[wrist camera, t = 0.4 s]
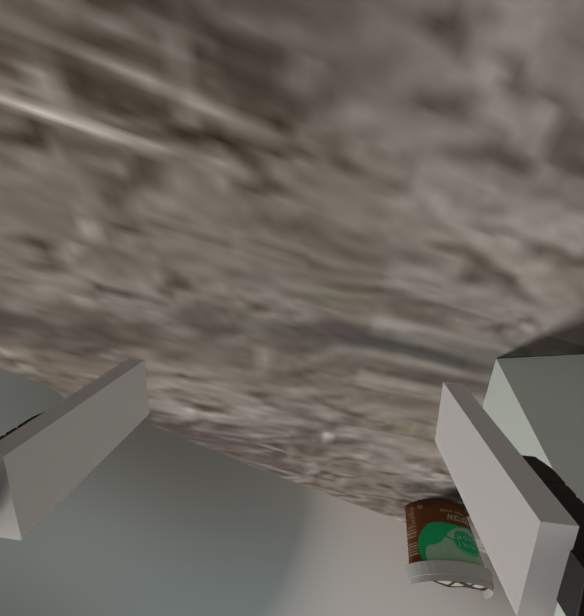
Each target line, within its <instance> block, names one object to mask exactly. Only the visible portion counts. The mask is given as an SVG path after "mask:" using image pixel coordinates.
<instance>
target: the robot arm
mask: <svg viewBox="0 0 584 616" xmlns="http://www.w3.org/2000/svg"><path fill="white" fill-rule="evenodd" d="M148 414H149V402H148V391H147V380H146V370H145V360H140V359H128V360H126V361H125V362H123V363H121V364H120V365H118V366H117V367H115V368H113V369H112V370H110V371H109V372H107V373H106V374H104V375H102V376H101V377H99V378H98V379H96V380H94V381H93V382H91V383H90V384H88V385H87V386H85V387H83V388H82V389H80V390H79V391H77V392H75V393H74V394H72V395H71V396H69V397H68V398H66V399H64V400H63V401H61V402H60V403H58V404H56V405H55V406H53V407H52V408H50V409H49V410H47V411H45V412H43V413H41V414H38V415H36V416H34V417H32V418H30V419H28V420H27V421H25V422H24V423H22V424H20V425H19V426H18V428H14V429H12V430H11V431H9V432H7V433H6V435H3V436H1V437H0V537H2V538H9V539H15V540H23V539H24V538H25V537H26V536H27V535H28V534H29V533H30V532H31V531H32V530H33V529H34V528H35V527H36V526H37V525H38V524H39V523H40V522H41V521H42V520H43V518H45V517H46V516H47V515H48V514H49V513H50V512H51V511H52V510H53V509H54V508H55V507H56V506H57V505H58V504H59V503H60V502H61V501H62V500H63V499H64V498H65V497H66V496H67V495H68V494H69V493H70V492H71V491H72V490H73V489H74V488H75V487H76V486H77V485H78V484H79V483H80V482H81V481H82V480H83V479H84V478H85V477H86V476H87V475H88V474H89V473H90V472H91V471H92V470H93V469H94V468H95V467H96V466H97V465H98V464H99V463H100V462H101V461H102V460H103V459H104V458H105V457H106V456H107V455H108V454H109V453H110V452H111V451H112V450H113V449H114V448H115V447H116V446H117V445H118V444H119V443H120V442H121V441H122V440H123V439H124V438H125V437H126V436H127V435H128V434H129V433H130V432H131V431H132V430H133V429H134V428H135V427H136V426H137V425H138V424H139V423H140V422H141V421H142V420H143V419H144V418H145V417H146V416H147V415H148ZM435 442H436V444H437V446H438V449H439V451H440V453H441V455H442V457H443V459H444V461H445V464H446V466H447V468H448V470H449V472H450V474H451V476H452V479H453V481H454V483H455V485H456V487H457V489H458V491H459V494H460V496H461V498H462V500H463V502H464V504H465V506H466V509H467V511H468V513H469V515H470V517H471V519H472V522H473V524H474V526H475V528H476V530H477V532H478V534H479V537H480V539H481V541H482V543H483V545H484V547H485V549H486V552H487V554H488V556H489V558H490V560H491V562H492V564H493V567H494V569H495V571H496V573H497V575H498V577H499V579H500V581H501V584H502V586H503V588H504V590H505V592H506V595H507V597H508V599H509V601H510V603H511V605H512V607H513V609H514V612H515V614H516V616H554V613H555V610H556V606H557V603H559V605H560V607H561V608H562V610H563V612H564V613H565V615H566V616H584V503H583V502H582V501H581V500H580V499H579V498H577V497H576V494H575V493H574V492H573V491H572V490H571V489H570V488H569V486H566V484H565V482H564V481H563V480H562V479H561V478H560V476H559V475H558V474H557V473H556V472H555V471H554V470H553V469H552V468H551V467H549V466H548V465H546V464H545V463H544V462H542V461H541V460H539V459H538V458H536V457H534V456H524V455H521V454H520V453H519V452H518V451H517V449H516V448H515V447H514V446H513V444H512V443H511V442H510V441H509V440H508V438H507V437H506V436H505V435H504V433H503V432H502V431H501V430H500V429H499V427H498V426H497V425H496V424H495V422H494V421H493V420H492V419H491V418H490V416H489V415H488V414H487V413H486V411H485V410H484V409H483V408H482V407H481V405H480V404H479V403H478V402H477V400H476V399H475V398H474V397H473V395H472V394H471V393H470V392H469V391H468V389H467V388H466V387H465V386H464V384H459V383H446V382H443V388H442V395H441V402H440V409H439V416H438V423H437V430H436V437H435Z"/></svg>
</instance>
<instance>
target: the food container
mask: <svg viewBox="0 0 584 616" xmlns="http://www.w3.org/2000/svg"><path fill="white" fill-rule="evenodd" d="M405 510H406V524H407V538H408V554H409V564H407V565H405V567H406V570H407V574H408V577H409V578H410V580H411V584H414V583H418V582H426V581H434V582H436V583H439V584H442V585H444V586H447V587H468V588H473V589H478V590H482V592H483V595H484V598H485V599H487V598H489V597H491V596H492V595H493V589H494V583H493V575H492V572H491V571H490V570H489V569H487V568H485V567H484V564H483V561H482V559H481V556H480V553H479V550H478V547H477V545H476V542H475V539H474V536H473V534H472V531H471V528H470V525H469V523H468V520H467V517H466V515H465V512H464V509H463V507H462V506H461V505H459V504H457V503H455V502H452V501H448V500H442V499H425V500H419V501H415V502H411V503H409V504H407V505H406V506H405Z"/></svg>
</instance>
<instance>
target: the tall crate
mask: <svg viewBox="0 0 584 616" xmlns="http://www.w3.org/2000/svg"><path fill="white" fill-rule="evenodd" d="M482 408H483V409H484V410H485V411H486V413H487V414H488V415H489V416H490V418H491V419H492V420H493V421H494V422H495V424H496V425H497V426H498V427H499V429H500V430H501V431H502V432H503V433H504V435H505V436H506V437H507V438H508V440H509V441H510V442H511V443H512V444H513V446H514V447H515V448H516V449H517V451H518V452H519V453H520V454H521V455H524V456H534V457H536V458H538V459H539V460H541V461H542V462H544V463H545V464H546V465H548V466H549V467H551V468H552V469H553V470H554V471H555V472H556V473H557V474H558V475H559V476H560V478H561V479H562V480H563V481H564V482H565V484H566V486H569V488H570V489H571V490H572V491H573V492H574V493H575V494H576V497H577V498H579V499H580V500H581V501H582V502H583V503H584V354H579V355H559V356H540V357H520V358H500V359H496V361H495V365H494V368H493V372H492V375H491V379H490V382H489V386H488V389H487V393H486V396H485V400H484V403H483V407H482ZM554 616H566V615H565V613H564V612H563V610H562V608H561V607H560V605H559V603H557V606H556V610H555V613H554Z"/></svg>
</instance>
